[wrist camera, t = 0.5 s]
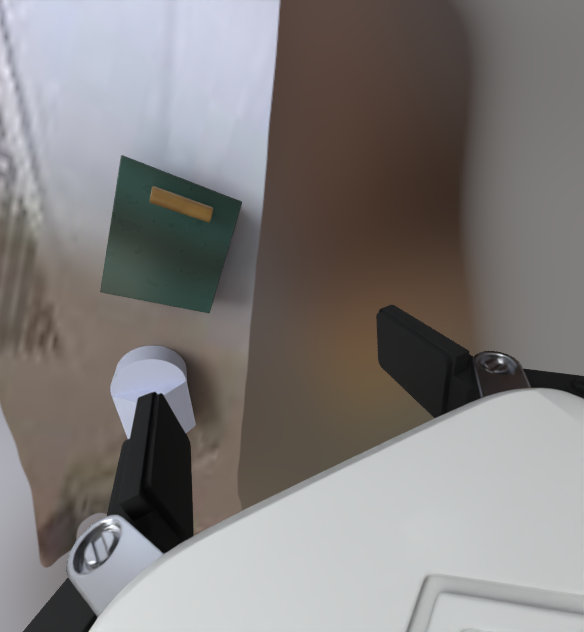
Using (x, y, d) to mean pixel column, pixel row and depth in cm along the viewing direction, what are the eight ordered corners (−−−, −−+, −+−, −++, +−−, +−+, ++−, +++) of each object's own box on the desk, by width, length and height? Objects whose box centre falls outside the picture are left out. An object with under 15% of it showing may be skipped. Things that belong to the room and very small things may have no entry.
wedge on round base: (194, 409, 45) (180, 340, 39) (197, 443, 40) (180, 368, 34) (132, 424, 42) (107, 352, 37) (125, 462, 37) (93, 385, 31)
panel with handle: (123, 155, 26) (110, 151, 21) (240, 201, 31) (251, 206, 26) (102, 288, 30) (88, 310, 25) (208, 309, 35) (213, 330, 30)
